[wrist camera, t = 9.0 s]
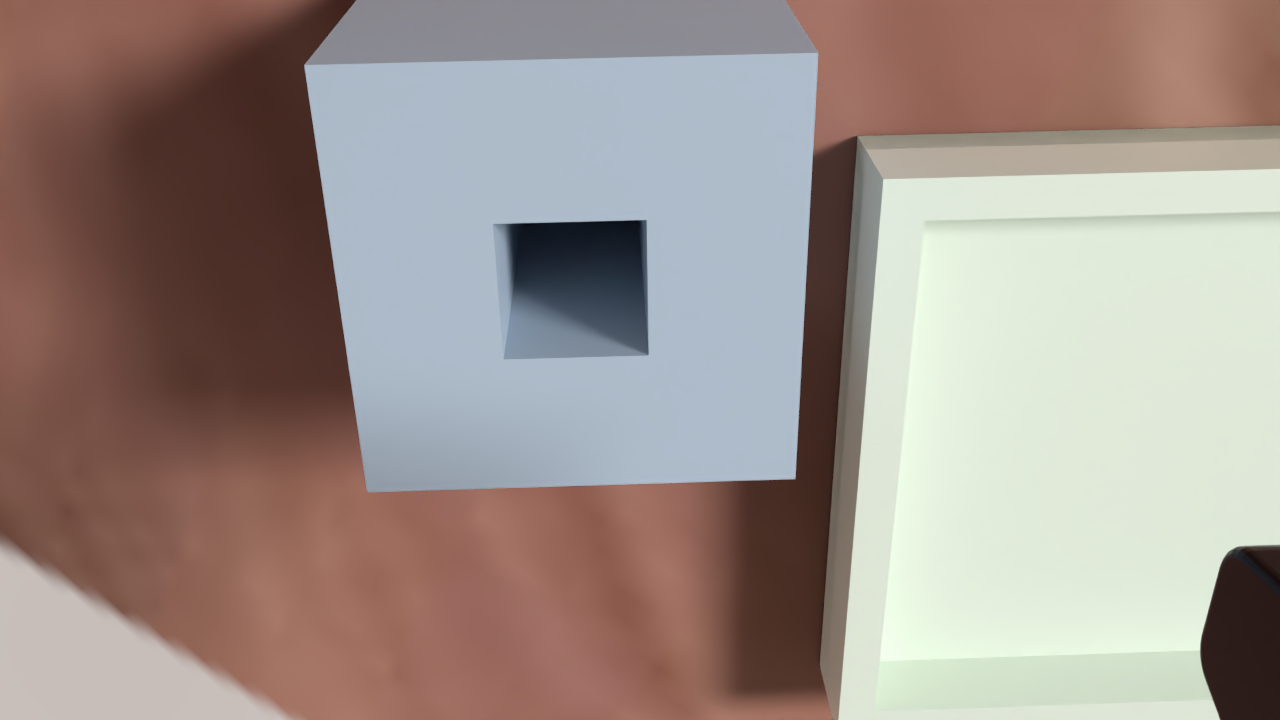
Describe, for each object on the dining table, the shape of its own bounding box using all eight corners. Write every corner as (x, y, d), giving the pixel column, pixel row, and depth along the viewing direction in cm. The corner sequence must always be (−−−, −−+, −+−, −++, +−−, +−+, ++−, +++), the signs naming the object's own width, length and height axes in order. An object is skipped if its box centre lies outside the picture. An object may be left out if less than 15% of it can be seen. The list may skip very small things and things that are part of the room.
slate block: (758, -43, 16) (818, 53, 12) (748, 296, 19) (796, 479, 14) (383, -34, 16) (304, 64, 12) (421, 304, 19) (367, 492, 14)
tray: (1542, 119, 18) (1635, 159, 16) (1360, 646, 22) (1418, 718, 21) (857, 135, 18) (884, 178, 16) (819, 665, 22) (836, 738, 21)
